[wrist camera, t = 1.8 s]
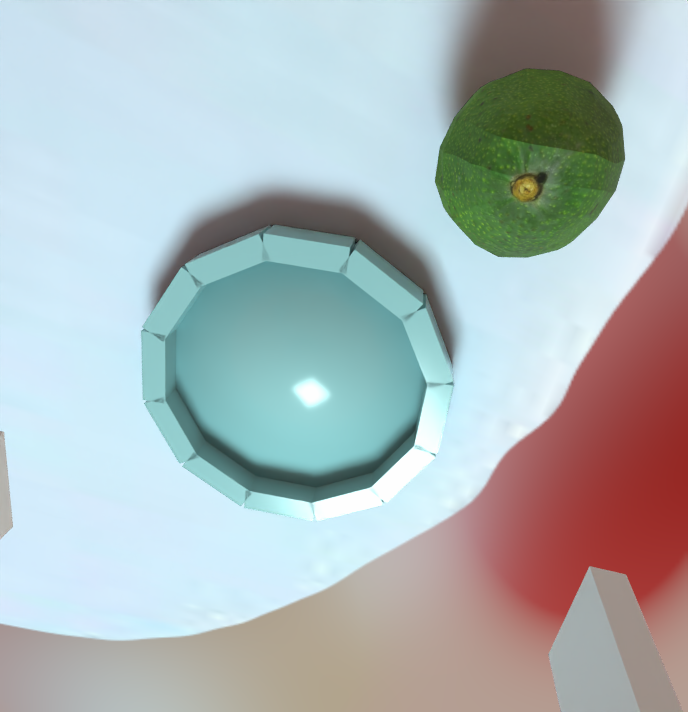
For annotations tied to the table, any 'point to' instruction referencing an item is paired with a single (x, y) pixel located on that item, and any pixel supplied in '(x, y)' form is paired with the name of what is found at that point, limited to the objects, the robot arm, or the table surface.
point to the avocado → (530, 162)
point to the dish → (297, 373)
